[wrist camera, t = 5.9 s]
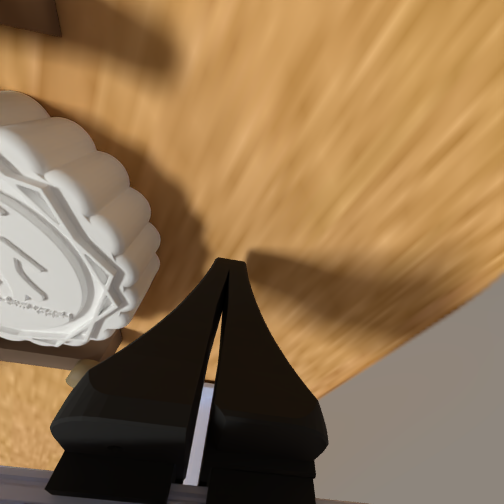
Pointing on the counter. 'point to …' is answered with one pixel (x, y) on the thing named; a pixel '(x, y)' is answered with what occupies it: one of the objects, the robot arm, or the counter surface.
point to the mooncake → (67, 232)
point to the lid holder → (26, 352)
